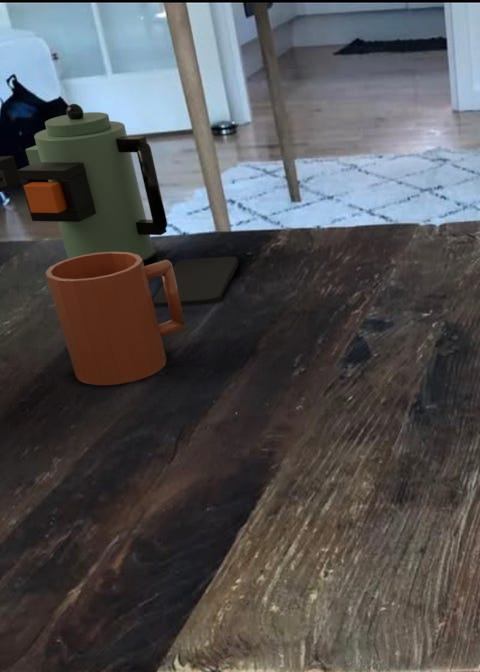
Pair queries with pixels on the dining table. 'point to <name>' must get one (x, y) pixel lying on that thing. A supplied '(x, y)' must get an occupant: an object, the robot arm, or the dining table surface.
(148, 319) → the mug
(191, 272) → the phone
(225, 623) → the dining table surface
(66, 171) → the kettle
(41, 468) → the dining table surface
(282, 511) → the dining table surface
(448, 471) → the dining table surface
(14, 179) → the robot arm
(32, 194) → the switch
